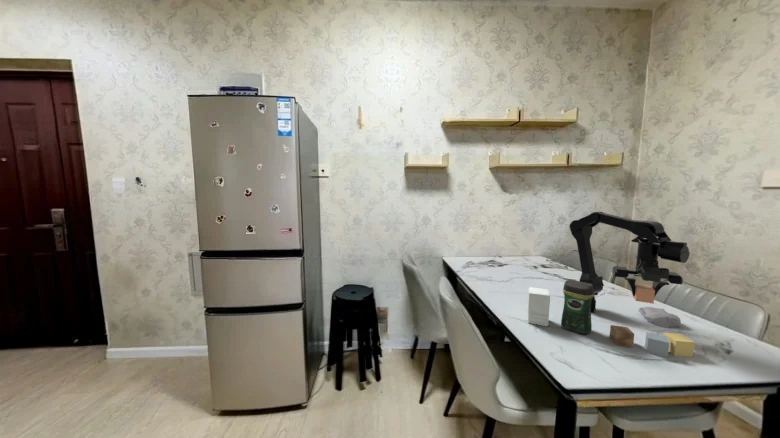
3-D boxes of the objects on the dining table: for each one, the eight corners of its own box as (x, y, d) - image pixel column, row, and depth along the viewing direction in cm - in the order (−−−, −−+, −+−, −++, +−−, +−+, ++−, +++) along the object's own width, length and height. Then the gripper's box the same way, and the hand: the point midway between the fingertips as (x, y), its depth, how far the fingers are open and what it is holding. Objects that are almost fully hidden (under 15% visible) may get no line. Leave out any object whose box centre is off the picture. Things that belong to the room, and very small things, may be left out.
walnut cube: (615, 345, 98) (616, 331, 98) (609, 338, 103) (610, 324, 102) (632, 348, 97) (634, 334, 96) (626, 340, 102) (627, 327, 101)
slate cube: (646, 352, 94) (648, 338, 94) (644, 345, 98) (646, 331, 98) (667, 357, 91) (669, 343, 91) (664, 350, 95) (666, 336, 95)
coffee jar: (593, 329, 109) (597, 282, 107) (587, 337, 103) (592, 287, 101) (564, 321, 116) (567, 276, 114) (558, 327, 110) (561, 281, 108)
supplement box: (547, 319, 118) (549, 289, 116) (548, 327, 111) (550, 295, 109) (527, 315, 121) (528, 286, 119) (527, 323, 114) (528, 292, 112)
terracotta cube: (635, 300, 106) (637, 287, 105) (632, 296, 110) (633, 283, 110) (653, 303, 103) (655, 290, 103) (649, 298, 108) (650, 285, 107)
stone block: (654, 330, 112) (684, 328, 110) (652, 318, 111) (682, 315, 110) (634, 317, 123) (661, 315, 121) (632, 307, 123) (659, 304, 121)
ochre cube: (674, 355, 92) (676, 340, 92) (662, 346, 97) (663, 333, 97) (692, 356, 92) (694, 342, 91) (679, 348, 97) (680, 334, 96)
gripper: (620, 258, 102) (615, 300, 104) (692, 264, 93) (686, 310, 95) (613, 251, 112) (610, 290, 114) (678, 257, 103) (673, 298, 105)
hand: (642, 297), depth 107 cm, fingers closed on terracotta cube, 5 cm apart
